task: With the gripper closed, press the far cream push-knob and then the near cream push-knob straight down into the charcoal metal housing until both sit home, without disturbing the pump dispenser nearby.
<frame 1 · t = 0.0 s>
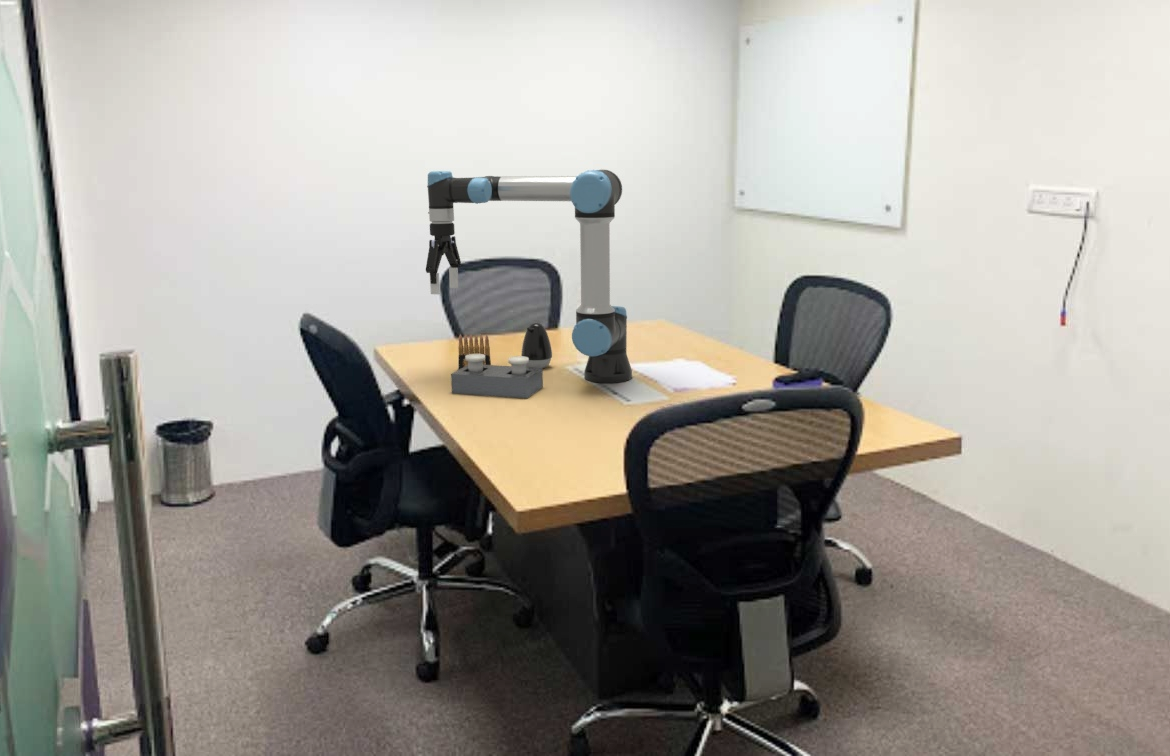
hand: (444, 291, 293), 28 cm above the table, tool pointing down, fingers open, 13 cm apart
pump dispenser: (536, 368, 313), on the table
housing: (497, 390, 284), on the table
knob far: (475, 367, 284), point 7 cm above the table, slide at 0.0 cm
ammunition clip: (474, 370, 311), on the table
knob near: (518, 369, 280), point 7 cm above the table, slide at 0.0 cm
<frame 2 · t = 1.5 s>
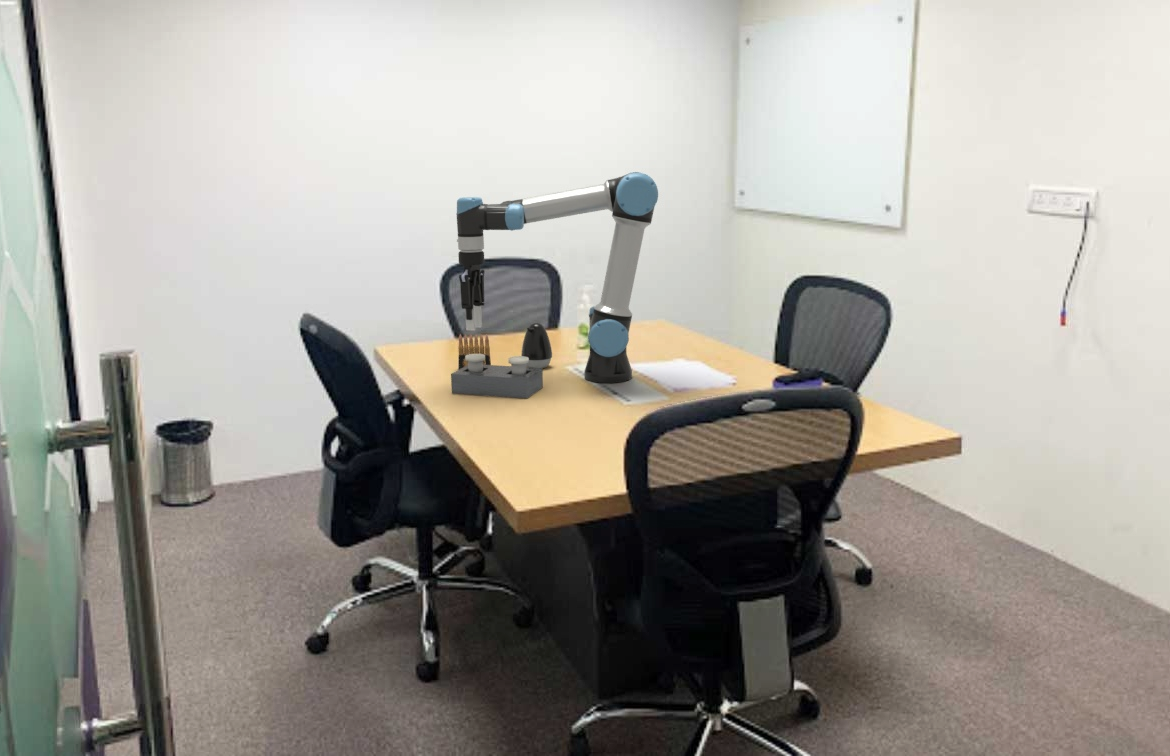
hand: (474, 328, 281), 19 cm above the table, tool pointing down, fingers open, 4 cm apart
nothing on the table moved.
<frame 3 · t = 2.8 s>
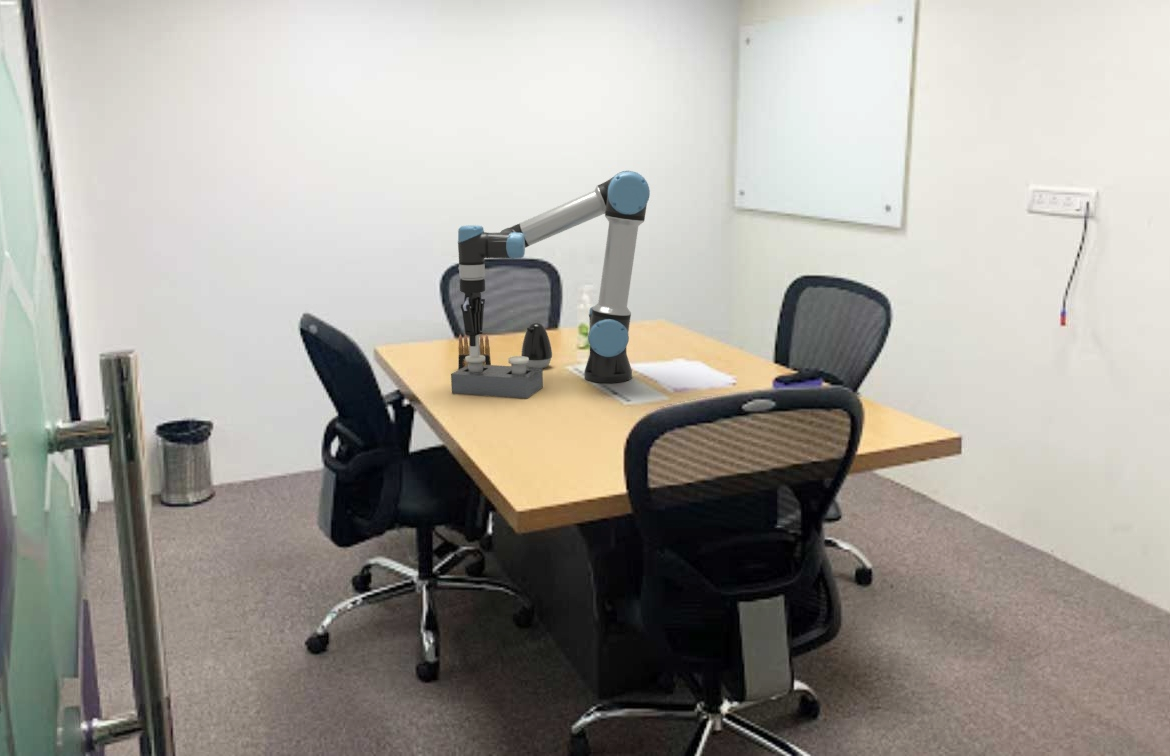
hand: (474, 356, 283), 10 cm above the table, tool pointing down, fingers closed
knob far: (475, 368, 284), point 6 cm above the table, slide at 0.4 cm, touching gripper
everything else where it was.
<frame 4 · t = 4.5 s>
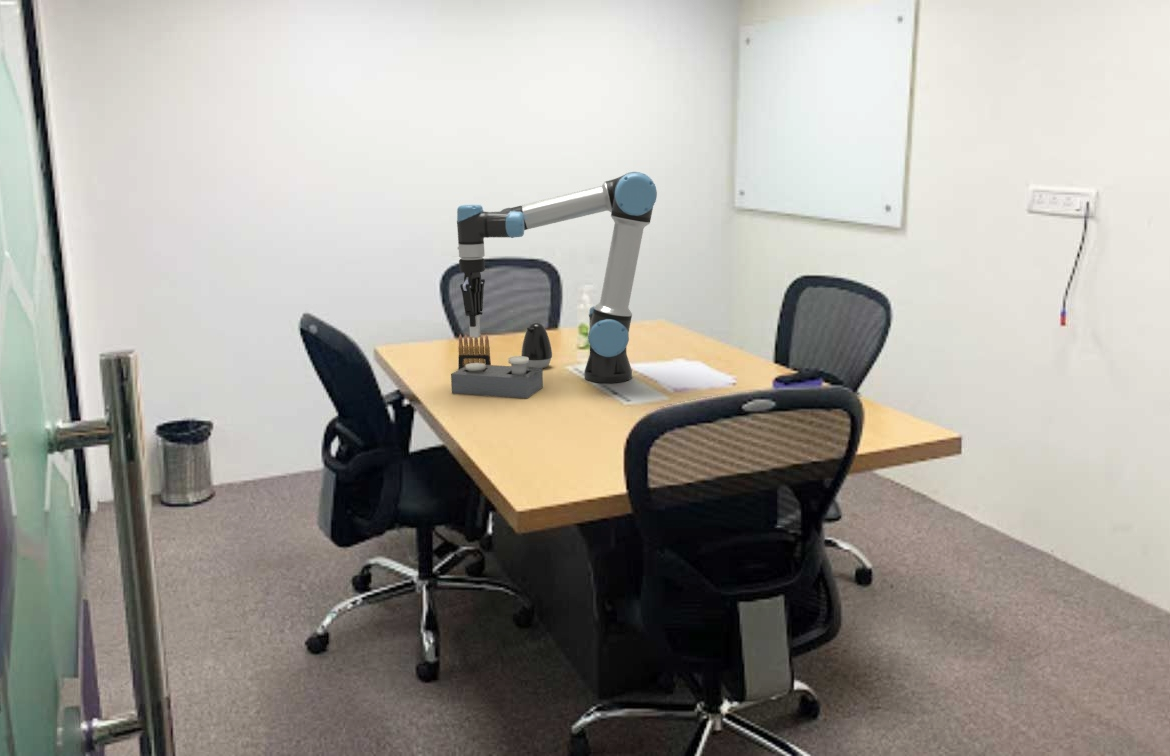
hand: (475, 336, 282), 16 cm above the table, tool pointing down, fingers closed
knob far: (476, 376, 285), point 4 cm above the table, slide at 2.9 cm
everything else where it was.
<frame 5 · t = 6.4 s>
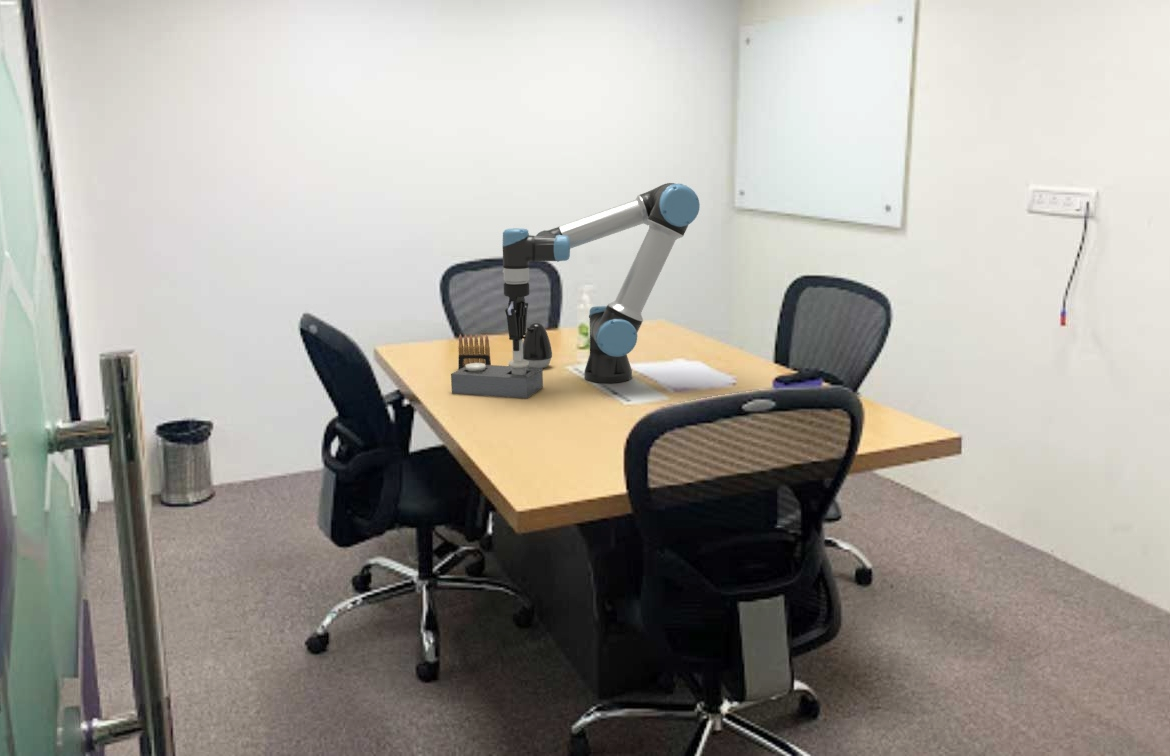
hand: (518, 360, 280), 10 cm above the table, tool pointing down, fingers closed
knob near: (518, 373, 280), point 6 cm above the table, slide at 1.1 cm, touching gripper
everything else where it was.
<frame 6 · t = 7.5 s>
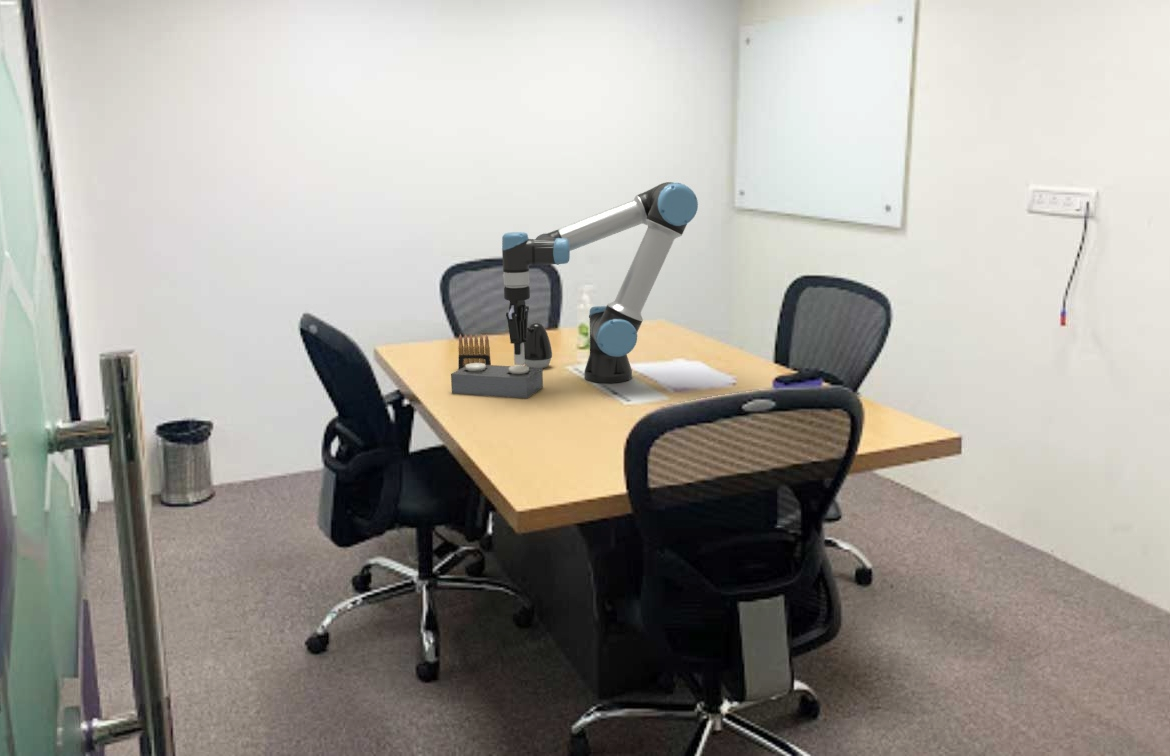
hand: (519, 364, 280), 8 cm above the table, tool pointing down, fingers closed
knob near: (519, 379, 281), point 4 cm above the table, slide at 2.9 cm
everything else where it was.
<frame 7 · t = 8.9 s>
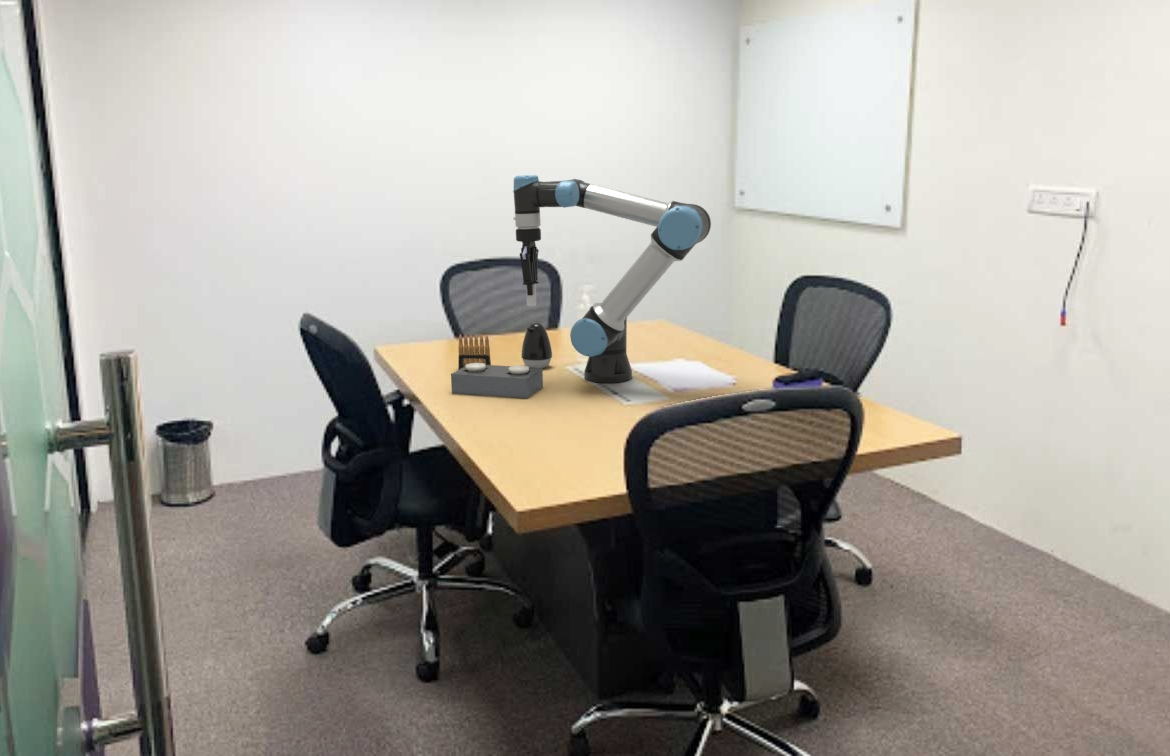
hand: (531, 305, 287), 24 cm above the table, tool pointing down, fingers closed
nothing on the table moved.
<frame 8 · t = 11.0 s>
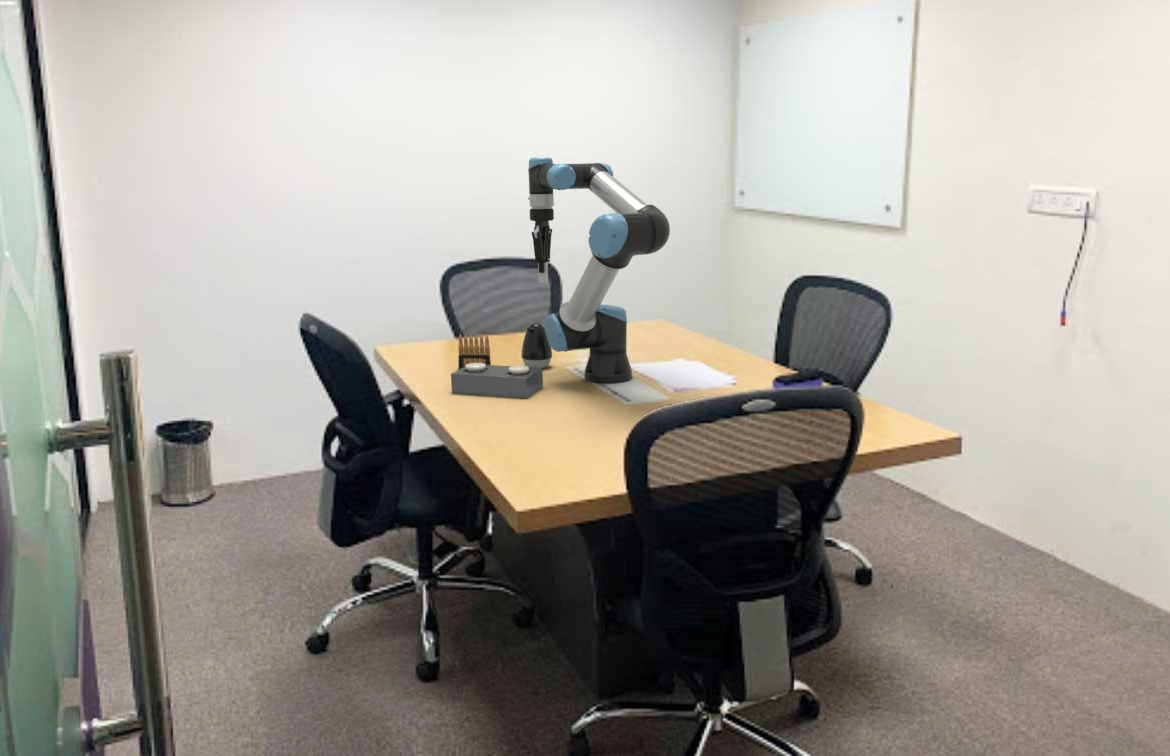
hand: (543, 282, 299), 29 cm above the table, tool pointing down, fingers closed
nothing on the table moved.
at the end: knob far slide at 2.9 cm; knob near slide at 2.9 cm; pump dispenser moved 0.2 cm from its start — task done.
